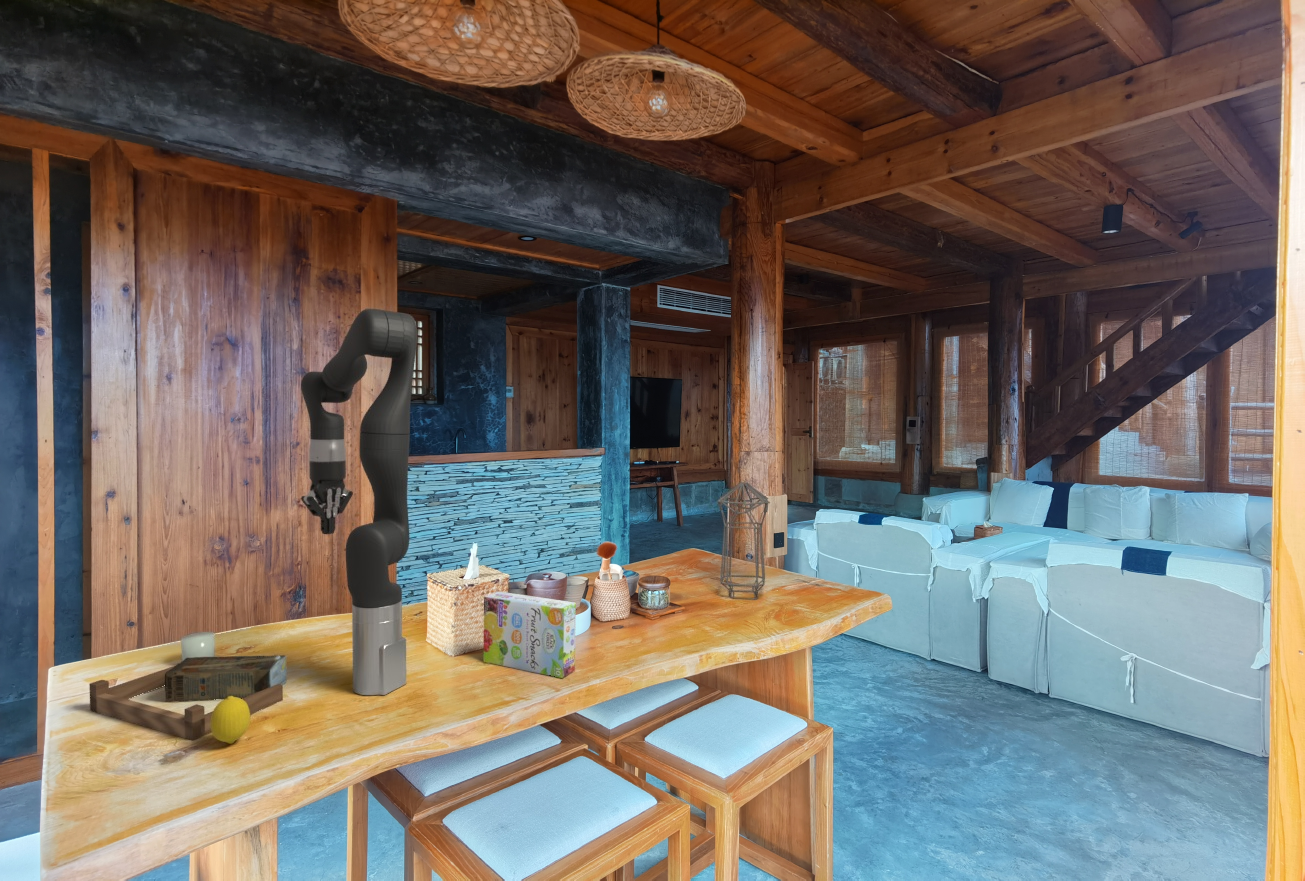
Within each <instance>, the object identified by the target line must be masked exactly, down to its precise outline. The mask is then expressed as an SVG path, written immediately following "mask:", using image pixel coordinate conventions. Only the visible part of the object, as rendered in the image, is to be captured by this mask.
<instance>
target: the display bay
mask: <svg viewBox="0 0 1305 881" xmlns="http://www.w3.org/2000/svg"><path fill="white" fill-rule="evenodd" d="M175 666H176V665H172V666H171V667H170V666H169V667H167V668H164V669H162V670H159V671H155V672H152V673H150V674H146V675H144V676H140V677H138V678H134V679H131V680H129V681H126V682H123V683H120V684H117V685H113V686H111V687H109V686H110V681H108V680H105V679H99V680H97V681H93V682H90V683H89V686H88V687H89V711H90V710H92V711H91V712H94V711H95V712H94V713H97V712H99V713H98V714H101V713H102V714H101V715H104V714H105V716H107V715H108V716H109V717H111V716H112V717H111V718H114V717H115V718H114V719H118V718H119V719H118V720H122V721H124V722H128V723H131V724H135V725H139V726H141V727H142V726H143V727H146V728H149V729H152V730H156V731H159V732H163V733H166V734H169V735H173V736H176V737H180V738H182V739H187V740H189V741H195V740H196V739H199V738H202V737H204V736H207V735H208V734H211V733H212V731H211V717H212V713H213V711H214V710H211V711H210V712H207V713H205V706H204V705H200V704H197V703H196V704H194V705H191V706H188V707H185V708H184V713H179V712H175V711H172V710H168V709H165V708H161V707H157V706H153V705H149V704H147V703H142V702H139V701H135V700H131V699H133V698H135V697H134V696H136V697H138V696H137V695H139V696H141V695H140V694H142V693H144V694H147V693H149V692H148V691H150V692H152V691H151V690H153V691H155V690H154V689H156V688H158V689H160V688H159V687H161V688H163V687H162V686H164V685H165V673H166V672H167V671H169V670H170V669H172V668H173V667H175ZM164 687H165V686H164ZM283 688H284V685H281V684H276V685H274V686H272V687H269V688H267V689H264V690H262V691H260V692H257V693H255V694H252V695H250V696H248V697H245V698H243V700H244V701H245V702H246V703H247V705H248V707H249V711H250V716H251V715H253V714H255V713H258V712H259V710H260V711H262V710H264V709H266V707H267V708H268V707H270V706H273V705H275V704H277V702H278V703H279V702H283V700H284V699H283V698H284V695H283V693H284V692H283V691H284V689H283ZM156 690H157V689H156ZM146 692H147V693H146ZM142 695H143V694H142ZM132 697H133V698H132ZM129 698H131V699H129ZM261 709H262V710H261ZM257 711H258V712H257ZM252 713H253V714H252ZM108 716H107V717H108Z"/></svg>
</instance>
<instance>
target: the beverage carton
mask: <svg viewBox="0 0 1305 881" xmlns="http://www.w3.org/2000/svg"><path fill="white" fill-rule="evenodd" d="M174 666H175V667H173V666H172V667H173V668H172V669H170V670H169V671H167V672H166V673H165V686H164V689H165V690H164V692H165V694H164V696H165V702H166V703H169V701H179V702H190V701H189V700H200V701H217V700H216V699H226V698H227V697H229V696H233V697H238V698H245V697H248V696H250V695H252V694H255V693H257V692H260V691H262V690H264V689H267V688H269V687H272V686H274V685H276V684H281V685H283V686H284V685H285V684H286V683H287V675H288V672H287V671H288V669H287V655H282V654H281V655H280V654H278V655H277V654H274V655H237V656H236V655H235V656H232V655H231V656H215V657H193V658H186V659H185V660H184V661H182V660H181V662H178V663H177V664H176V665H174ZM214 699H215V700H214Z"/></svg>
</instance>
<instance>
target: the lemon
mask: <svg viewBox="0 0 1305 881" xmlns="http://www.w3.org/2000/svg"><path fill="white" fill-rule="evenodd" d="M212 711H213V713H212V717H211V731H212V732H211V733H212V735H213V737H214V738H215V739H216V740H218V741H220V742H222V743H224V742H225V743H227V744H229V745H232V744H234V743H235V741H236V740H239V739H240V738H241V737H242V736H244V735H245V733H246V731H247V730H248V729H249V725H250V722H251V715H250V711H249V707H248V705H247V703H246V702H245V701H244V700H243V699H241V698H238V697H233V696H229V697H227V698H226V699H224V700H221V701H220V702H218V704H217V705H215V707H214V709H213V710H212Z"/></svg>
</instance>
